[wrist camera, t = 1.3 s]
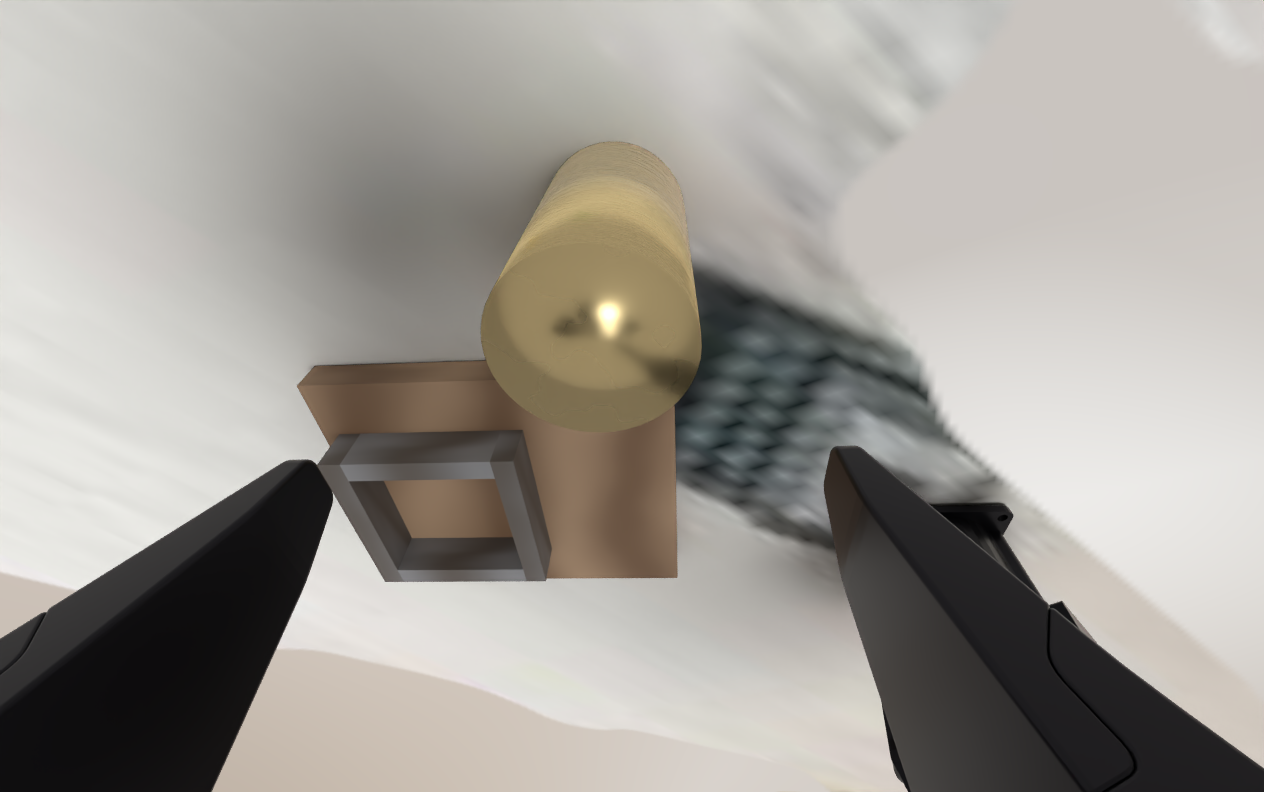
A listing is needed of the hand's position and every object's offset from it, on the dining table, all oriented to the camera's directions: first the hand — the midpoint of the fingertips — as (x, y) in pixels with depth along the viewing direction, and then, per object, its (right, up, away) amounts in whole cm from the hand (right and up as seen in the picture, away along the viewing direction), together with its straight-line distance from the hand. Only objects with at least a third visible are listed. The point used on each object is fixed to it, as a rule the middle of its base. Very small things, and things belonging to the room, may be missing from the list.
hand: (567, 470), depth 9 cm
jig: (-5, -3, +18) cm, 19 cm away
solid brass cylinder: (+1, +8, +10) cm, 13 cm away
